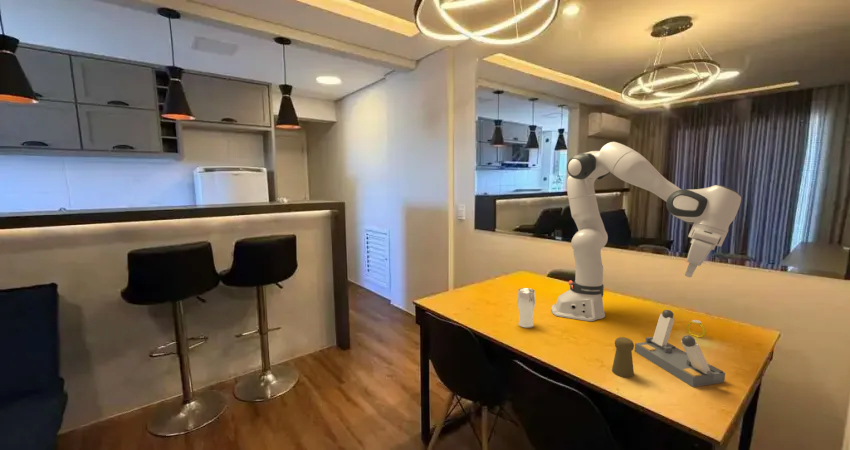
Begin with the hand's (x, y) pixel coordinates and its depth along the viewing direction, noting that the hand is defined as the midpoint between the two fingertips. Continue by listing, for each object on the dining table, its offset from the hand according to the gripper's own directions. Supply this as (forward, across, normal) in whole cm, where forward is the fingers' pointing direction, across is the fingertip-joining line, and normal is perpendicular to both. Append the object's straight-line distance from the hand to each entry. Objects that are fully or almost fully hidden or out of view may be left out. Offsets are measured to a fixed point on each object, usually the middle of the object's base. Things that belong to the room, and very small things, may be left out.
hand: (687, 276), depth 114 cm
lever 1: (+26, -3, +1) cm, 26 cm away
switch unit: (+28, +1, +7) cm, 29 cm away
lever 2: (+24, +8, +13) cm, 29 cm away
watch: (+22, -29, +10) cm, 38 cm away
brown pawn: (+34, +16, -4) cm, 38 cm away
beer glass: (+42, -1, -42) cm, 60 cm away
